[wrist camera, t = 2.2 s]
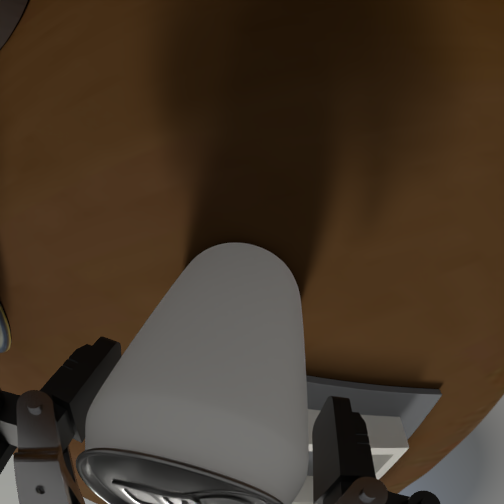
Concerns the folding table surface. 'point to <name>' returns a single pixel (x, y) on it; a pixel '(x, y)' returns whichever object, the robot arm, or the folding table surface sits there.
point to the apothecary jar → (4, 332)
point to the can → (207, 392)
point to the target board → (371, 419)
